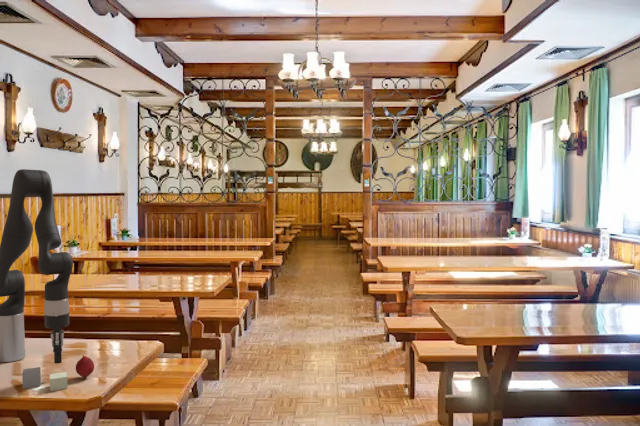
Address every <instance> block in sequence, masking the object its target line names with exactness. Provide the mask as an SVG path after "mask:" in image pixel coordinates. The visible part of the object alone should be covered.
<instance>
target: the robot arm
mask: <svg viewBox="0 0 640 426" xmlns="http://www.w3.org/2000/svg"><path fill="white" fill-rule="evenodd" d="M26 197H39V198H40V201H41V207H40V210H39V212H38V215H37V216H36V219H35V221H34V227H33V224H32V221H31V219H30V217H29V216H28V213H27V211H26V209H25V199H26ZM9 199H10V200H9V201H10V202H9V207H8V212H7V216H6V220H5V224H4V227H3V231H2V236H1V240H0V298H2V297H8V298H7V299H6V300H5V301H3V302H2V303H0V363H9V362H11V363H13V362H16V361H20V360H23V359H25V358H26V339H25V312H24V309H25V302H26V301H25V300H26V299H25V297H26V293H25V292H26V281H25V276H24V274H23V272H22V271H21V270H19V269H11V267H12V266H13V264H14V263H15V262H16V261H17V260H19V258H20V257H21V256H22V255H23V254H24V253H25V252H26V250H27V249H28V248H29V246H30V243H31V240H32V236H33V232H35V236H36V241H37V243H38V245H37V246H38V259H37V260H38V261H37V268H38V270H39V272H40V273H41V274H42V275H44V276H50V275H57V276H56V278H55V279H53V280H50V281H47V282H46V283H45V284H44V303H43V304H44V305H43V307H44V308H43V309H44V312H43V314H44V327H45V328H46V329H52V330H51V331H50V339H51V347H53V349H52V352H53V354H54V355H53V361H54V364H61V363H62V362H63V361H62V360H63V359H62V358H63V357H62V353H63V352H62V351H63V345H64V337H65V331H64V330H65V329H62V328H65V327H68V326H69V325H70V303H69V288H68V287H69V283H70V279H71V274H72V271H73V267H74V259H73V256H72V255H71V254H70V252H66V251H62V252H61V251H60V252H50V251H52V250H55V249H58V248H59V247H60V246H61V245H62V238H61V235H60V231H59V227H58V224H57V218H56V211H55V203H54V192H53V184H52V179H51V176H50V174H49V173H48V172H47V171H46V170H42V169H25V168H24V169H23V168H22V169H19V170H17V171H16V173H15V174H14V176H13V181H12V186H11V194H10V198H9Z"/></svg>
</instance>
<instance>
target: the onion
mask: <svg viewBox="0 0 640 426" xmlns="http://www.w3.org/2000/svg"><path fill="white" fill-rule="evenodd" d="M94 370H95V363H94V360H92V359H91V358H90V357H88V356H87V355H86V354H83V355H82V357H81V358H80V359H79V360H78V361H77V362H76V364H75V372H76V373H77V375H79V376H80V377H82V378H83V379H86V378H88V377H89V376H91V374H92V373H93V372H94Z"/></svg>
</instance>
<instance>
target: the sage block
mask: <svg viewBox="0 0 640 426" xmlns="http://www.w3.org/2000/svg"><path fill="white" fill-rule="evenodd" d="M67 389H68V372H67V371H66V372H64V371H63V372H59V373H50V374H49V391H50V392H53V391H61V390H67Z"/></svg>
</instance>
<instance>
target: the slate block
mask: <svg viewBox="0 0 640 426" xmlns="http://www.w3.org/2000/svg"><path fill="white" fill-rule="evenodd" d="M21 376H22V389H23V390H25V389H31V388H39V387H41V383H42V372H41V366H37V367H29V368H23V369H22V373H21Z"/></svg>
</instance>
